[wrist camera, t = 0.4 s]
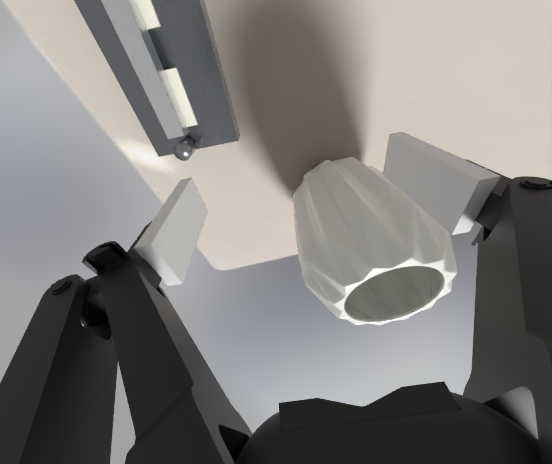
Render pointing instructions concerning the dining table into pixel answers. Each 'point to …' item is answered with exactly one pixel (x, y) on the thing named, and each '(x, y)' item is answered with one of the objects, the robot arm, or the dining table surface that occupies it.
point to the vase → (368, 245)
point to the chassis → (173, 54)
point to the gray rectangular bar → (149, 71)
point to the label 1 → (148, 13)
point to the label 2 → (181, 96)
